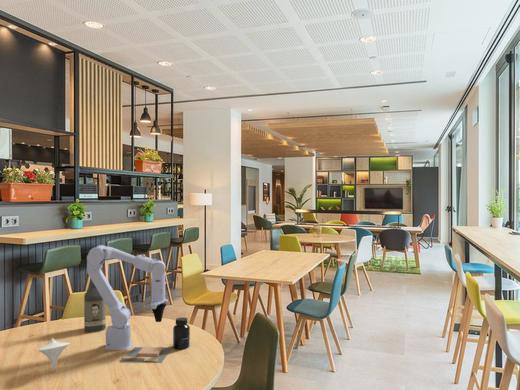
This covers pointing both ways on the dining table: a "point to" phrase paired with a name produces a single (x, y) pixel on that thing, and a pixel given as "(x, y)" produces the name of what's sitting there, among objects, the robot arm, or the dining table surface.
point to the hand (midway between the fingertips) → (158, 321)
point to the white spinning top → (53, 351)
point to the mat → (135, 354)
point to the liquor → (94, 310)
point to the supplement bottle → (181, 334)
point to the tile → (150, 351)
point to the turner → (140, 359)
